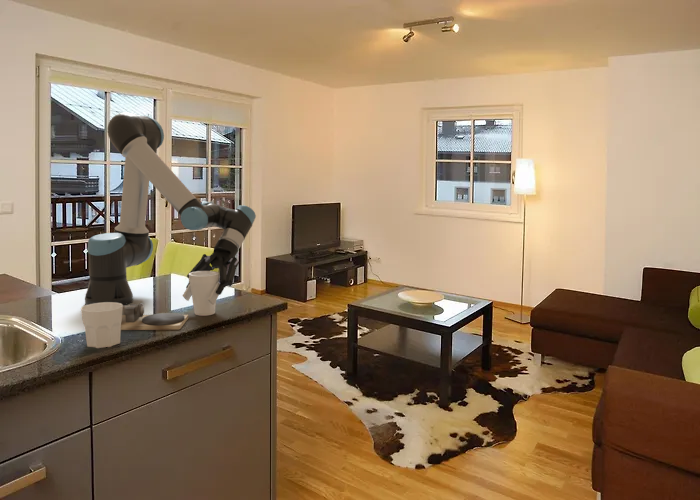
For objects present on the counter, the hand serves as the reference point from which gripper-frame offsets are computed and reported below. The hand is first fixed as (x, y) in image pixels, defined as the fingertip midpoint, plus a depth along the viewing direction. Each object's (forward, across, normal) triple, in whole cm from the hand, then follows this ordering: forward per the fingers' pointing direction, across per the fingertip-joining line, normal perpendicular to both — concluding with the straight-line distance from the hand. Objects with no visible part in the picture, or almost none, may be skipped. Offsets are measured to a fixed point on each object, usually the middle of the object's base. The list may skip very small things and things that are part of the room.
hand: (197, 300), depth 173 cm
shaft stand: (+14, +7, +7) cm, 17 cm away
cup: (+27, +3, +20) cm, 34 cm away
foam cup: (+1, 0, -6) cm, 6 cm away
